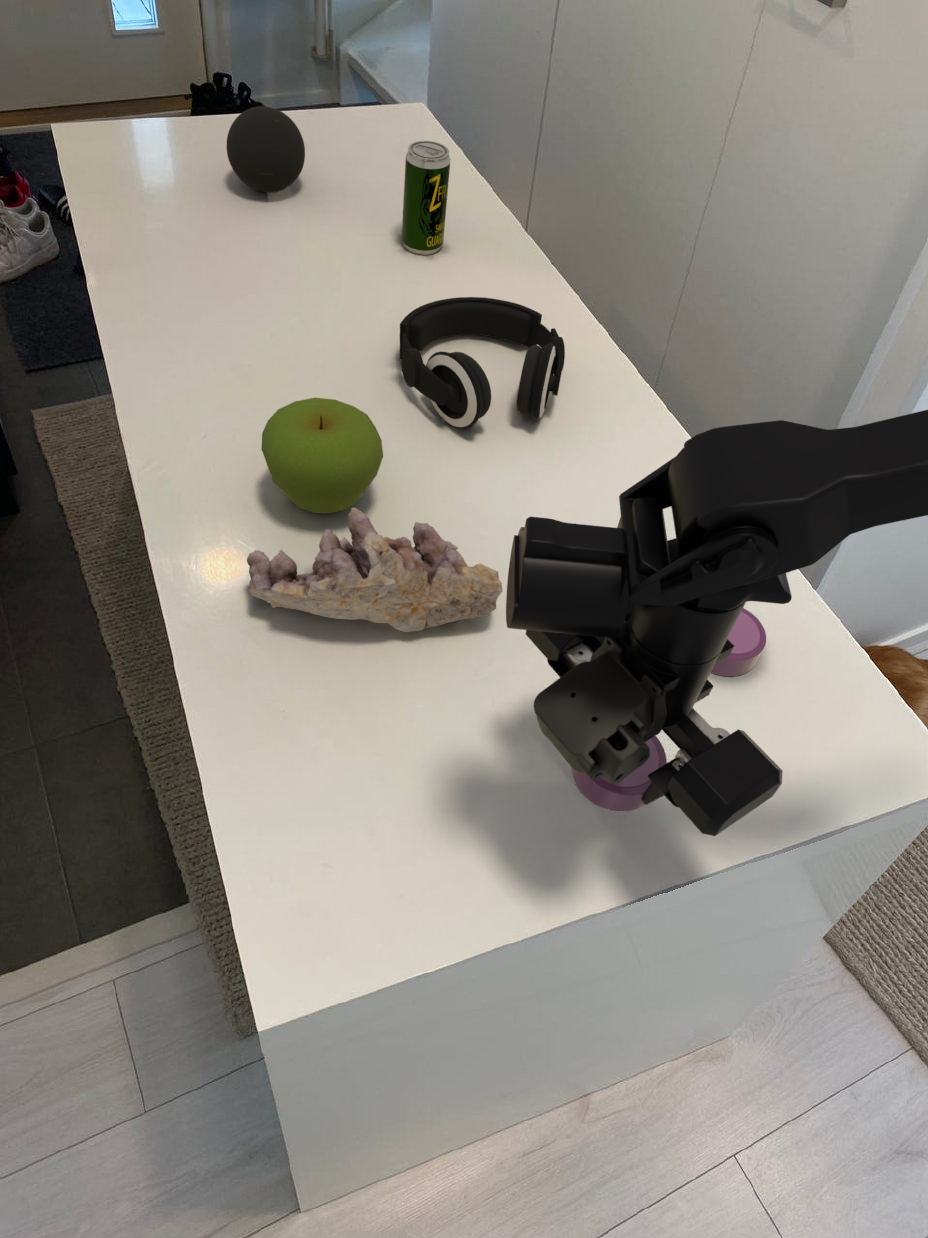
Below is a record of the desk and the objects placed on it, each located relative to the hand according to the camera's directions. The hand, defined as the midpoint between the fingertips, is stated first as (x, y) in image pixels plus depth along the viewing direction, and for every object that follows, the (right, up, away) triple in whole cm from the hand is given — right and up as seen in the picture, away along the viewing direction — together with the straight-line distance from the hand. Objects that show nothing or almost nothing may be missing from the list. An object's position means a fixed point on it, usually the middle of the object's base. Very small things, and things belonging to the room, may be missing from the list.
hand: (617, 764), depth 67 cm
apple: (-24, +22, +22) cm, 39 cm away
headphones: (-9, +36, +36) cm, 52 cm away
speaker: (-37, +68, +59) cm, 97 cm away
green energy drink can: (-16, +58, +54) cm, 81 cm away
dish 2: (+11, +8, +15) cm, 21 cm away
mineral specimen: (-19, +11, +14) cm, 26 cm away
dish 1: (0, -1, +1) cm, 1 cm away
